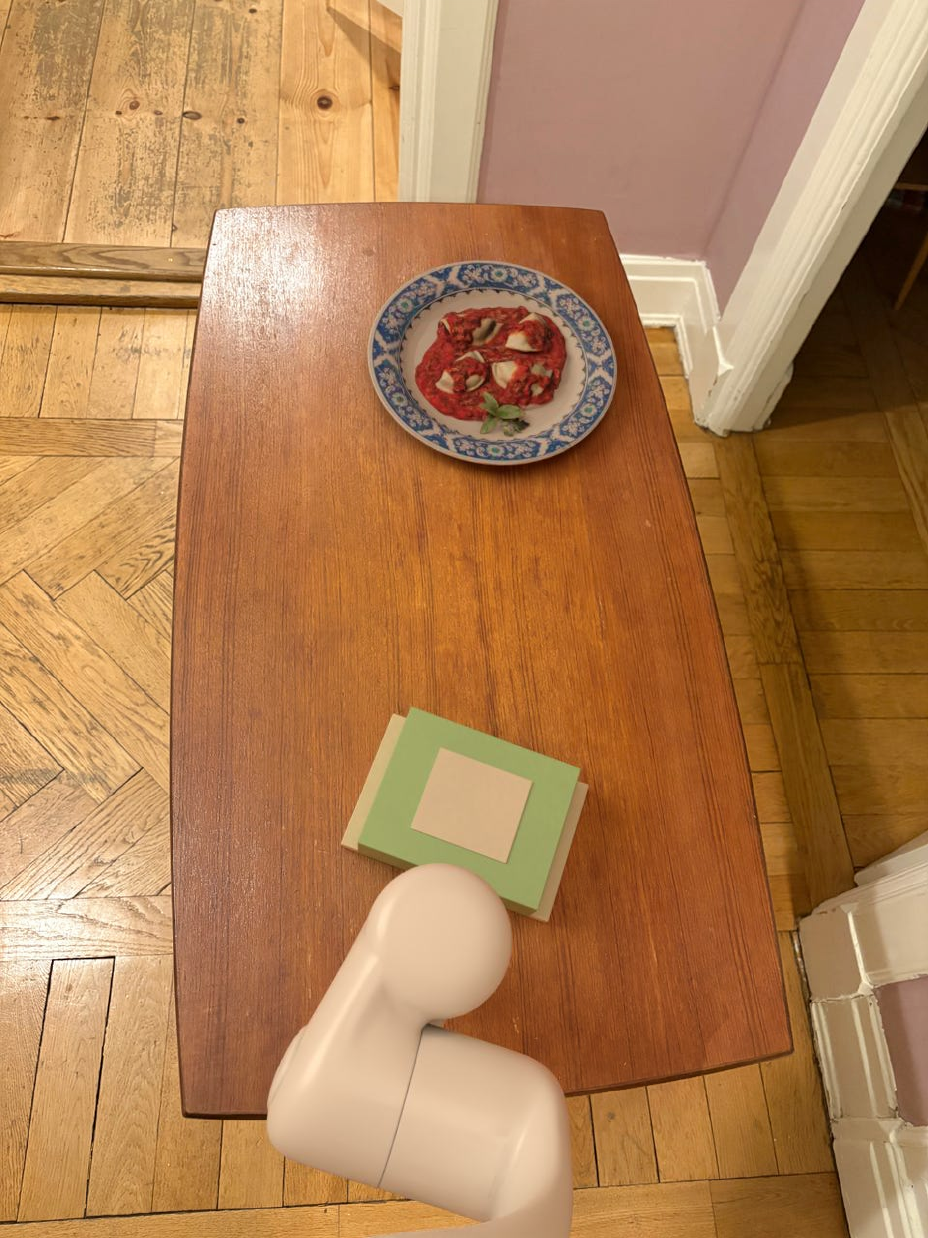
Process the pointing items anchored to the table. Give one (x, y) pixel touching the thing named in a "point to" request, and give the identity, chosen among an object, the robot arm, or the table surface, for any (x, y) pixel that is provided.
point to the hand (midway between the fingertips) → (412, 969)
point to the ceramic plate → (492, 362)
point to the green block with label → (469, 809)
